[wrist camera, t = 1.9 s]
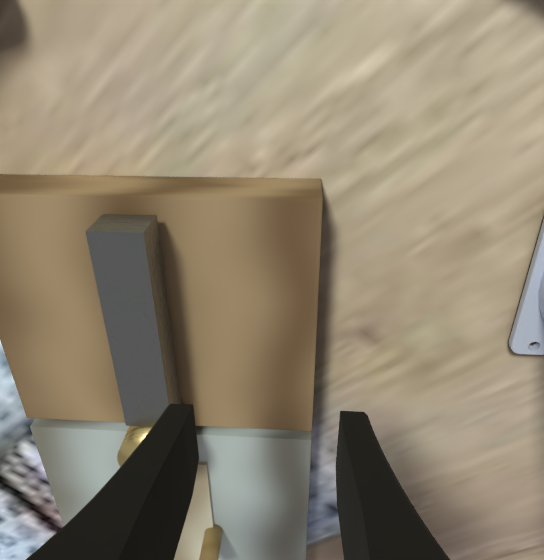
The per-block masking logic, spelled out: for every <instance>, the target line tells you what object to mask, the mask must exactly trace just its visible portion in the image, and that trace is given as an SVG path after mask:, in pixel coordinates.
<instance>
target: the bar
mask: <svg viewBox="0 0 544 560" xmlns="http://www.w3.org/2000/svg"><path fill="white" fill-rule="evenodd" d="M85 232H86V237H87V242H88V247H89V251H90V256H91V261H92V266H93V271H94V275H95V280H96V285H97V290H98V294H99V299H100V304H101V309H102V314H103V318H104V323H105V328H106V333H107V338H108V342H109V347H110V352H111V357H112V361H113V366H114V371H115V376H116V381H117V385H118V390H119V395H120V400H121V404H122V409H123V414H124V419H125V424H126V426H129V428H128V431H127V433H126V435H125V437H124V440H123V442H122V444H121V447H120V449H119V451H118V454H117V460H118V464H119V466H120V467H121V466H122V465H123V464H124V462H125V461H126V460H127V459H128V458H129V456H130V455H131V454H132V453H133V451H134V450H135V449H136V448H137V446H138V445H139V444H140V443H141V441H142V440H143V439H144V438H145V436H146V435H147V434H148V432H149V431H150V430H151V428H152V427H153V426H154V424H155V423H156V422H157V420H158V419H159V417H160V416H161V415H162V413H163V412H164V410H165V409H166V408H167V406H168V405H170V404H183V403H182V402H181V399H180V392H179V384H178V376H177V368H176V361H175V353H174V345H173V338H172V330H171V322H170V314H169V307H168V299H167V291H166V283H165V276H164V268H163V260H162V253H161V245H160V237H159V229H158V222H157V215H130V214H102V215H101V216H100V217H99V218H98V219H97V220H96V221H95V222H94V223H93V224H92V225H91V226H90V227H89V228H88V229H87V230H86V231H85Z"/></svg>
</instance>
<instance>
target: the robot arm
mask: <svg viewBox="0 0 544 560" xmlns="http://www.w3.org/2000/svg"><path fill="white" fill-rule="evenodd" d="M532 342H536V343H535V344H534V345H532V346H529V344H530V343H532ZM509 346H510V348H511V349H512V351H513V352H514V353H516V354H529V355H544V220H543V223H542V227H541V230H540V234H539V237H538V241H537V244H536V248H535V251H534V255H533V258H532V262H531V265H530V269H529V272H528V276H527V279H526V283H525V286H524V290H523V293H522V297H521V300H520V304H519V307H518V311H517V314H516V318H515V321H514V325H513V328H512V332H511V335H510V339H509ZM198 462H199V452H198V443H197V434H196V425H195V416H194V408H193V404H170V405H168V406H167V408H166V409H165V410H164V412H163V413H162V415H161V416H160V417H159V419H158V420H157V422H156V423H155V424H154V426H153V427H152V428H151V430H150V431H149V432H148V434H147V435H146V436H145V438H144V439H143V440H142V441H141V443H140V444H139V445H138V446H137V448H136V449H135V450H134V451H133V453H132V454H131V455H130V456H129V458H128V459H127V460H126V461H125V462H124V464H123V465H122V466H121V467H120V468H119V470H118V471H117V472H116V473H115V474H114V475H113V476H112V477H111V478H110V480H109V481H108V482H107V483H106V484H105V485H104V486H103V487H102V488H101V490H100V491H99V492H98V493H97V494H96V495H95V496H94V497H93V498H92V499H91V500H90V501H89V502H88V503H87V504H86V505H85V506H84V507H83V508H82V509H81V510H80V511H79V512H78V513H77V514H76V515H75V516H74V517H73V518H72V519H71V520H70V521H69V522H68V523H67V524H66V525H65V526H64V527H63V528H62V529H61V530H59V531H58V532H57V533H56V534H55V535H54V536H53V537H52V538H50V539H49V540H48V541H47V542H46V543H45V544H44V545H42V546H41V547H40V548H39V549H38V550H37V551H36V552H34V553H33V554H32V555H31V556H30V557H28V558H27V559H26V560H174V557H175V554H176V550H177V547H178V544H179V540H180V537H181V533H182V530H183V527H184V523H185V520H186V516H187V513H188V510H189V506H190V503H191V499H192V496H193V490H194V485H195V480H196V474H197V468H198ZM336 487H337V507H338V515H339V522H340V530H341V538H342V545H343V553H344V560H450V559H449V558H448V556H447V555H446V554H445V552H444V551H443V550H442V548H441V547H440V545H439V544H438V543H437V541H436V540H435V538H434V537H433V536H432V534H431V533H430V531H429V530H428V528H427V527H426V525H425V524H424V522H423V521H422V519H421V518H420V516H419V515H418V513H417V512H416V510H415V508H414V507H413V505H412V504H411V502H410V500H409V499H408V497H407V495H406V494H405V492H404V490H403V489H402V487H401V485H400V483H399V481H398V480H397V478H396V476H395V474H394V472H393V471H392V469H391V467H390V465H389V463H388V461H387V459H386V457H385V455H384V453H383V451H382V449H381V447H380V445H379V443H378V440H377V438H376V436H375V434H374V431H373V429H372V426H371V424H370V421H369V418H368V415H366V414H365V413H364V412H353V411H340V422H339V434H338V445H337V457H336Z"/></svg>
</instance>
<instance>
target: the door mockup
mask: <svg viewBox="0 0 544 560" xmlns="http://www.w3.org/2000/svg"><path fill="white" fill-rule="evenodd" d="M322 203H323V198H322V184H321V179H280V178H211V177H141V176H72V175H3V174H0V340H1V343H2V346H3V349H4V352H5V355H6V358H7V361H8V363H9V366H10V369H11V372H12V375H13V378H14V381H15V384H16V387H17V390H18V393H19V396H20V399H21V402H22V404H23V407H24V410H25V413H26V416H27V418H36V419H35V420H34V422H33V423H32V425H31V426H30V428H31V431H32V434H33V437H34V440H35V443H36V445H37V448H38V451H39V454H40V457H41V460H42V463H43V466H44V469H45V472H46V475H47V478H48V481H49V483H50V486H51V489H52V492H53V495H54V498H55V501H56V504H57V507H58V510H59V513H60V516H61V519H62V522H63V524H64V526H65V525H66V524H67V523H68V522H69V521H70V520H71V519H72V518H73V517H74V516H75V515H76V514H77V513H78V512H79V511H80V510H81V509H82V508H83V507H84V506H85V505H86V504H87V503H88V502H89V501H90V500H91V499H92V498H93V497H94V496H95V495H96V494H97V493H98V492H99V491H100V490H101V488H102V487H103V486H104V485H105V484H106V483H107V482H108V481H109V480H110V478H111V477H112V476H113V475H114V474H115V473H116V472H117V471H118V470H119V468H120V466H119V464H118V460H117V454H118V451H119V449H120V447H121V444H122V442H123V440H124V437H125V435H126V433H127V431H128V428H129V426H126V424H125V419H124V414H123V409H122V404H121V400H120V395H119V390H118V385H117V381H116V376H115V371H114V366H113V361H112V357H111V352H110V347H109V342H108V338H107V333H106V328H105V323H104V318H103V314H102V309H101V304H100V299H99V294H98V290H97V285H96V280H95V275H94V271H93V266H92V261H91V256H90V251H89V247H88V242H87V237H86V232H85V231H86V230H87V229H88V228H89V227H90V226H91V225H92V224H93V223H94V222H95V221H96V220H97V219H98V218H99V217H100V216H101V215H102V214H130V215H157V222H158V229H159V237H160V245H161V253H162V260H163V268H164V276H165V283H166V291H167V299H168V307H169V314H170V322H171V330H172V338H173V345H174V353H175V361H176V368H177V376H178V384H179V392H180V399H181V402H182V403H183V404H193V408H194V416H195V425H196V434H197V443H198V452H199V462H198V468H197V474H196V480H195V485H194V490H193V496H192V499H191V503H190V506H189V510H188V513H187V516H186V520H185V523H184V527H183V530H182V533H181V537H180V540H179V544H178V547H177V550H176V554H175V557H174V560H306V544H307V523H308V501H309V480H310V459H311V431H312V416H313V395H314V374H315V352H316V331H317V310H318V289H319V267H320V246H321V225H322Z"/></svg>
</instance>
